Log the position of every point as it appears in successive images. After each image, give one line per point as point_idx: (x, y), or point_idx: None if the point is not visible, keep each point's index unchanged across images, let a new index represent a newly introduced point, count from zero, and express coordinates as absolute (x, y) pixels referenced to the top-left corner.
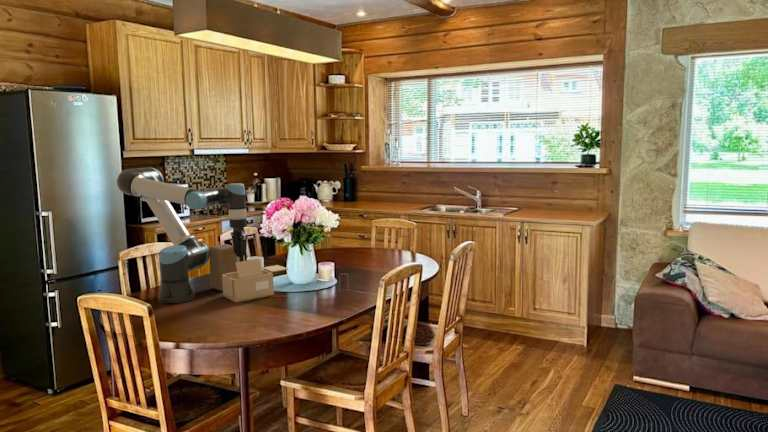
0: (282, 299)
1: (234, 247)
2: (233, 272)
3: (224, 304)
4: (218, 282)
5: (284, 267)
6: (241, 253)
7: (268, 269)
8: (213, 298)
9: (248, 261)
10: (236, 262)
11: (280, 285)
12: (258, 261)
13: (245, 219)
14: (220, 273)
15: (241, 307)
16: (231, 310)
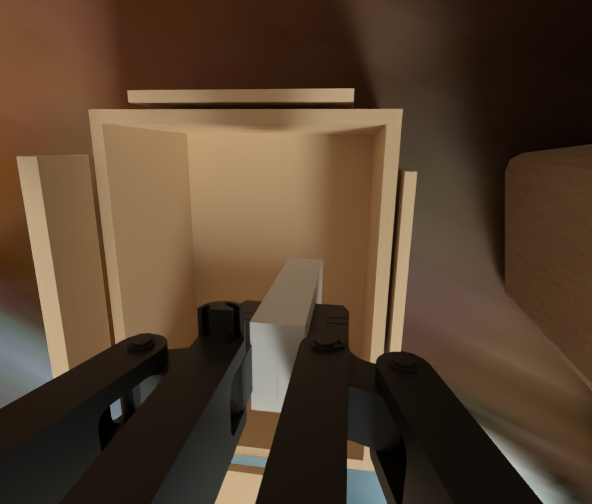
0: None
1: (417, 440)
2: (399, 241)
3: (191, 50)
4: (562, 152)
5: None
6: (102, 361)
7: (229, 476)
8: (379, 46)
9: (51, 334)
10: (18, 168)
11: (355, 477)
12: None
13: None
14: (573, 166)
15: (73, 108)
16: (48, 34)
